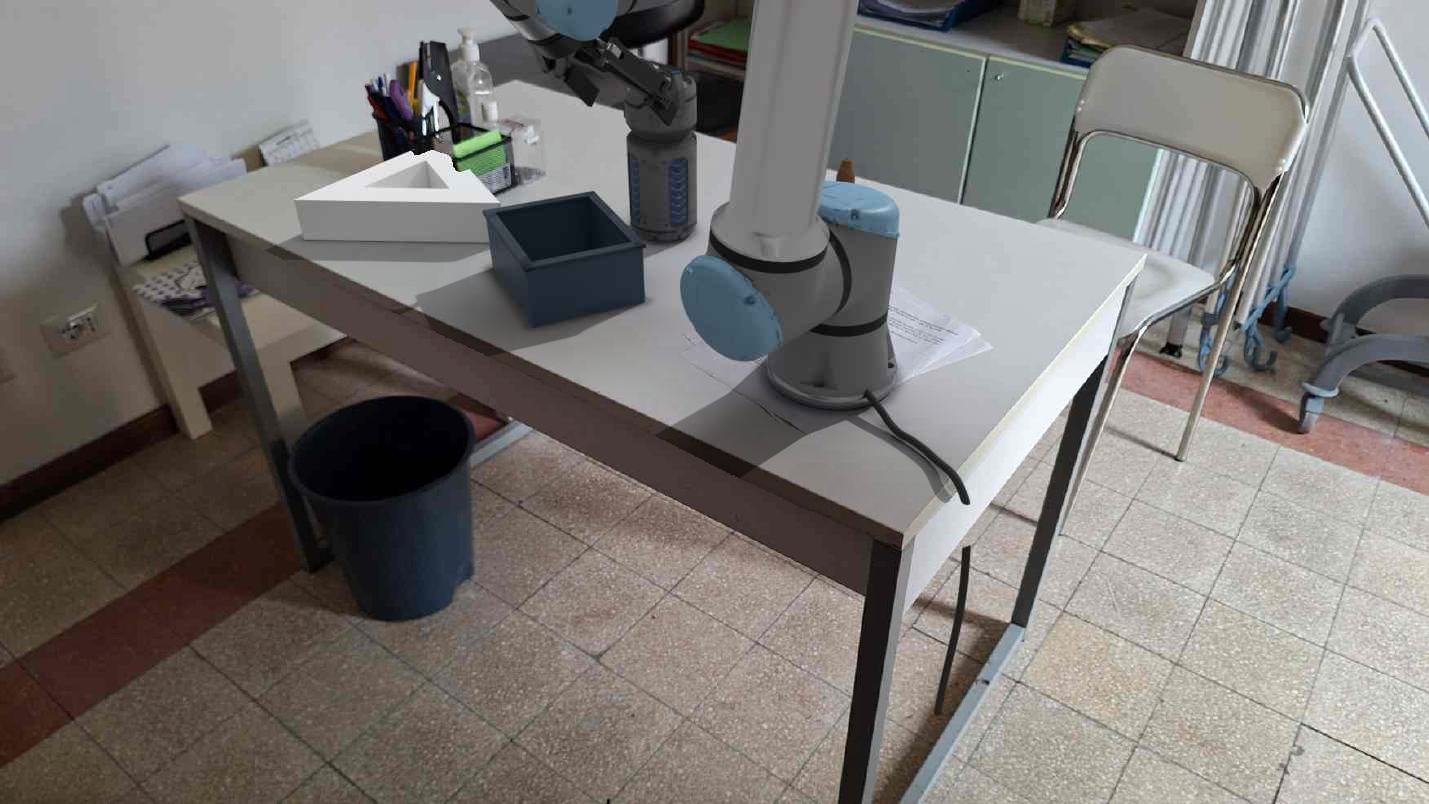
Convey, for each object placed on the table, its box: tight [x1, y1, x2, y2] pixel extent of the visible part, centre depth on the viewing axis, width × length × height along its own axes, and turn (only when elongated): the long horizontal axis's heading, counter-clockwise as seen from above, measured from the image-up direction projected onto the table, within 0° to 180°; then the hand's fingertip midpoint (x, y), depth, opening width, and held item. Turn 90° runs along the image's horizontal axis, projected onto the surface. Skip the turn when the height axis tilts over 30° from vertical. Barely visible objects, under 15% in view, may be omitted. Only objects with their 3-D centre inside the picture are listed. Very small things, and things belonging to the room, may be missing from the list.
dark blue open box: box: [483, 190, 647, 328], centre depth 133 cm, size 19×16×9 cm
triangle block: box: [293, 150, 502, 244], centre depth 150 cm, size 30×26×6 cm
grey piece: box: [622, 57, 698, 242], centre depth 144 cm, size 10×13×25 cm
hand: (632, 107), depth 135 cm, fingers open, 13 cm apart
